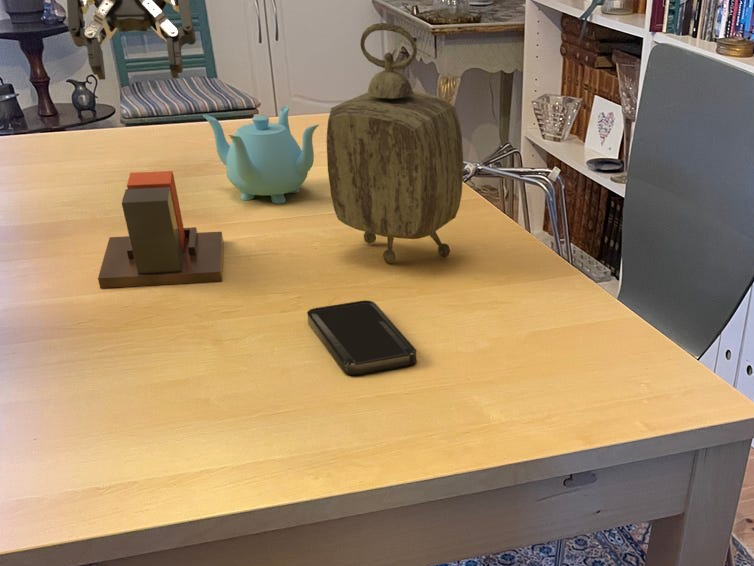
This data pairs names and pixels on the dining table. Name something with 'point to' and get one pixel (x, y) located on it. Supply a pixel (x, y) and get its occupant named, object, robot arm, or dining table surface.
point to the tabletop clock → (395, 157)
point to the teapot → (265, 157)
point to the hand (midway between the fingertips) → (137, 74)
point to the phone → (361, 337)
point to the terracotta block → (159, 181)
